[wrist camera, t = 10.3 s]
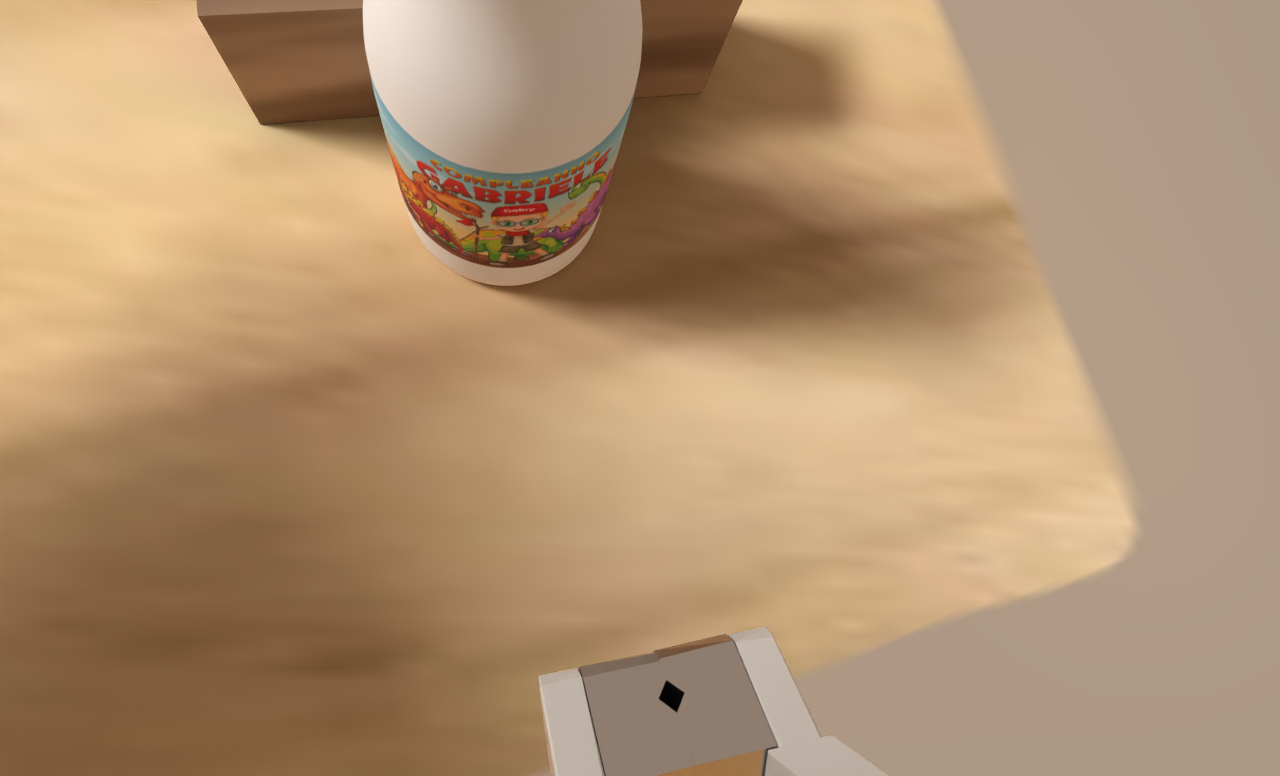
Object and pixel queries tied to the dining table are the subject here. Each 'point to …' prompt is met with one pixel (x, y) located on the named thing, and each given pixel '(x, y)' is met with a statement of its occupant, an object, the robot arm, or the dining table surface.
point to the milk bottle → (503, 123)
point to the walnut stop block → (338, 68)
